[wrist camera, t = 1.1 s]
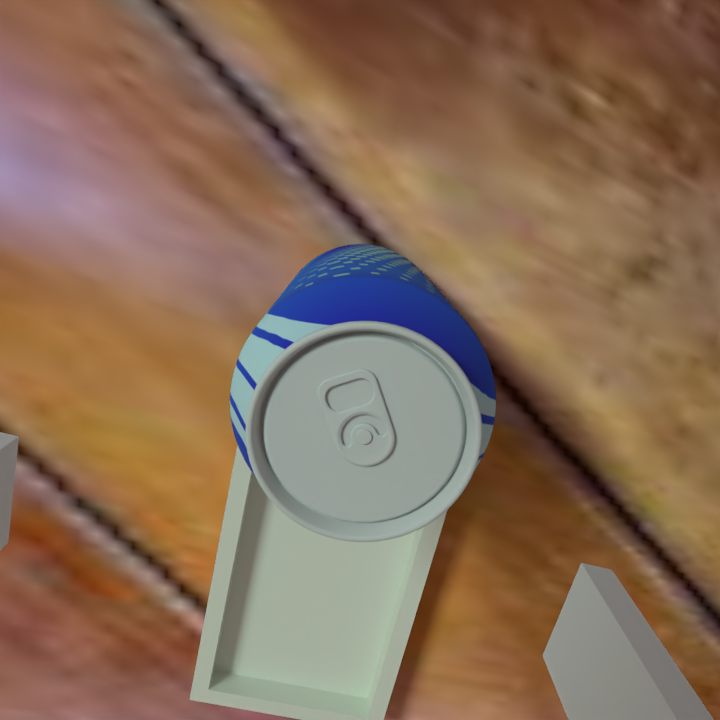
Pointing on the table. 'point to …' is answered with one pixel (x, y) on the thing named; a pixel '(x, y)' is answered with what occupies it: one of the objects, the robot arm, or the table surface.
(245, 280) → the table surface
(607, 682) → the robot arm
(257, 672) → the tray
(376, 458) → the beer can
